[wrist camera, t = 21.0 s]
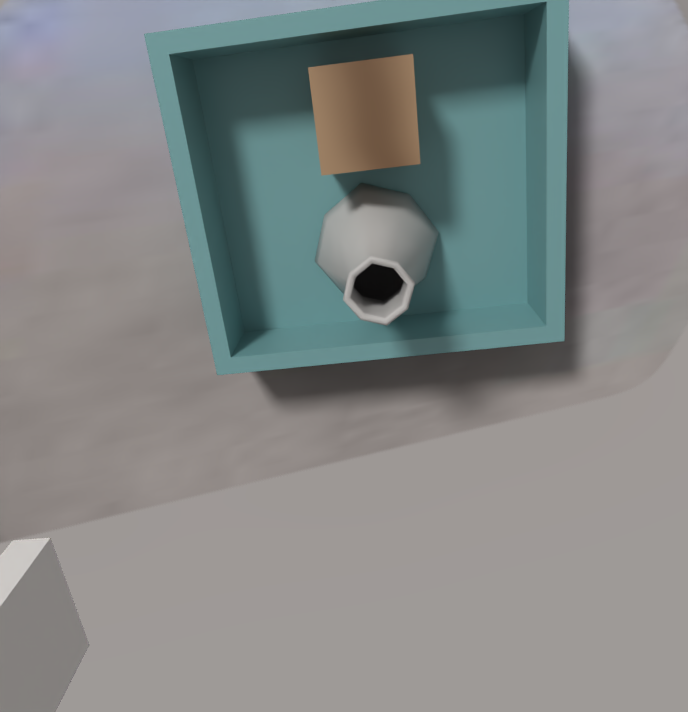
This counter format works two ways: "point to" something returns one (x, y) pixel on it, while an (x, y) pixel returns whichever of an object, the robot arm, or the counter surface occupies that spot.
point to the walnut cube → (365, 114)
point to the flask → (376, 250)
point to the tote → (372, 176)
